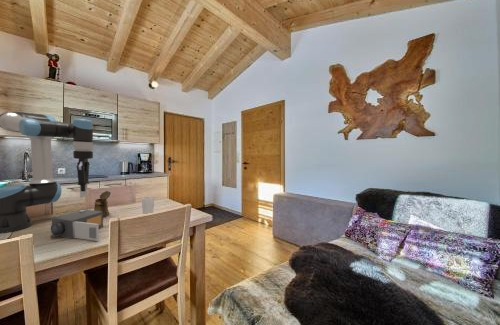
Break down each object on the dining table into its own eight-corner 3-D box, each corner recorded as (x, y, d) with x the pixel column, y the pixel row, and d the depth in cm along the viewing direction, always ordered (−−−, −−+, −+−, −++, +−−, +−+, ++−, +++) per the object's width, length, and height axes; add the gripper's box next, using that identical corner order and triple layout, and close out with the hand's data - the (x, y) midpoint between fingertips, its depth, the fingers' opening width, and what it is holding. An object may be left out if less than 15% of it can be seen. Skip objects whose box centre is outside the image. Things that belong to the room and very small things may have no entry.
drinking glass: (146, 223, 124) (145, 199, 123) (139, 221, 128) (139, 197, 127) (156, 220, 130) (156, 197, 129) (150, 218, 133) (149, 195, 133)
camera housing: (46, 237, 103) (45, 218, 102) (84, 224, 121) (83, 208, 120) (66, 240, 99) (66, 220, 99) (103, 227, 117) (102, 210, 117)
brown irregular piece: (99, 220, 128) (98, 192, 127) (90, 216, 135) (89, 189, 134) (114, 216, 135) (114, 190, 134) (105, 213, 143) (105, 187, 142)
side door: (75, 236, 103) (74, 221, 102) (98, 239, 100) (98, 223, 99) (71, 238, 101) (70, 222, 101) (95, 241, 98) (95, 225, 98)
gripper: (77, 149, 106) (78, 194, 107) (69, 150, 94) (69, 200, 96) (95, 150, 109) (95, 193, 111) (89, 151, 98) (89, 199, 99)
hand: (83, 197), depth 103 cm, fingers closed
